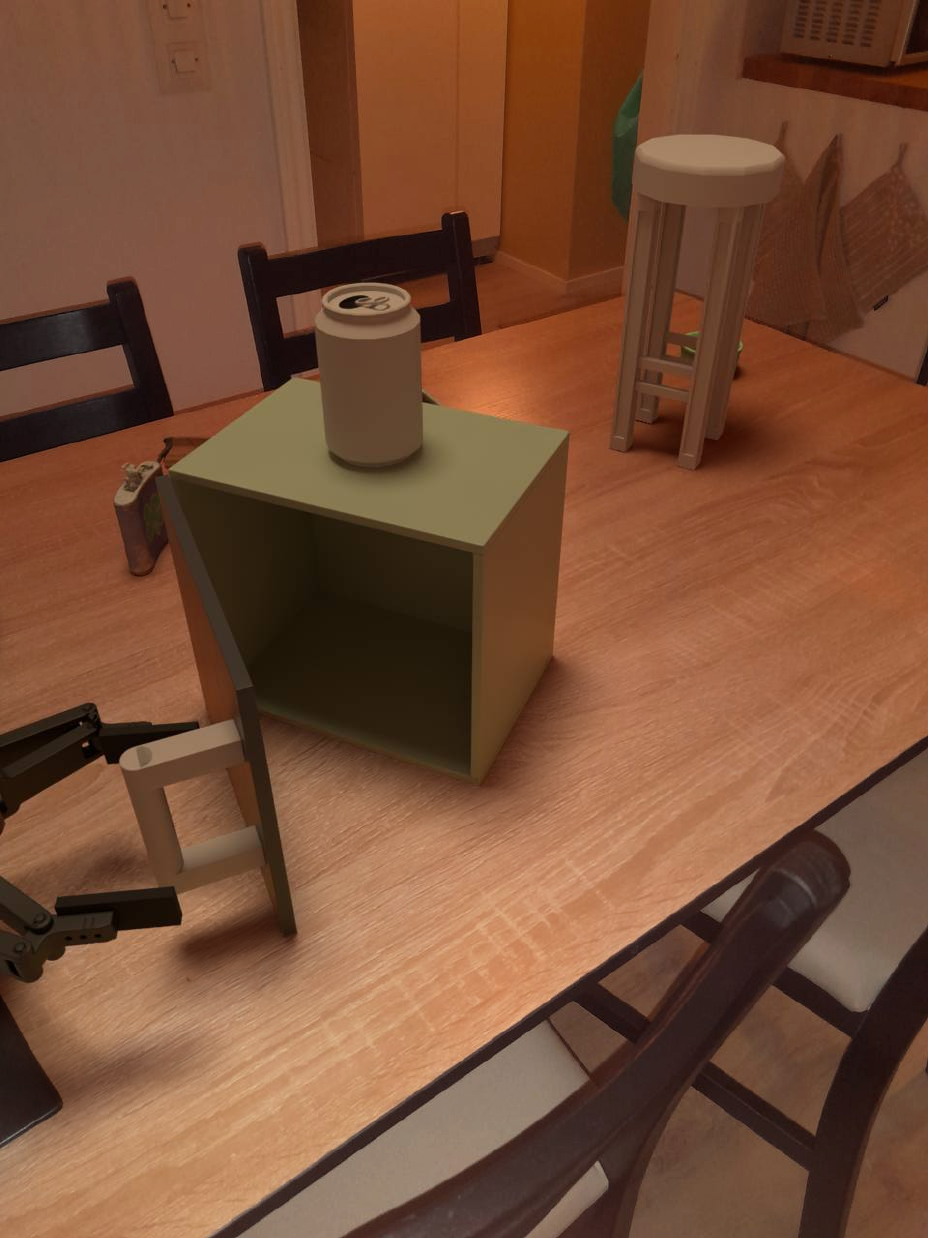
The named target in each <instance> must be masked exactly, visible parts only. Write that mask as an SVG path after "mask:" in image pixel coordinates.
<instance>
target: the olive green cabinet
mask: <svg viewBox="0 0 928 1238" xmlns="http://www.w3.org/2000/svg"><path fill="white" fill-rule="evenodd" d="M422 406H423V443H422V444H421V446H420V447H419V448H418V449H417V450H416V451H415V452H413V453H412V454H411V455H410V457H409V458H407V459H406V460H404V461H402V462H400V463H397V464H394V465H392V466H386V467H380V468H367V467H360V466H355V465H352V464H349V463H347V462H345V461H344V460H342V459H341V458H340V457H339V456H337V455H336V454H334V453H333V452H332V451H330V450H329V448H328V446H327V444H326V439H325V429H324V418H323V408H322V398H321V387H320V381H316V380H312V379H307V378H306V379H305V378H301V377H296V376H294V377H292V378H291V379H290V380H288V381H287V382H285V383H284V384H282V385H281V386H280V387H278V388H277V389H275V390H274V391H273V392H271V393H270V394H269V395H267V396H266V397H265V398H263V399H262V400H261V401H259V402H258V403H256V404H255V405H254V406H252V407H251V408H250V409H248V410H247V411H245V412H244V413H243V414H242V415H240V416H239V417H237V418H236V419H234V420H233V421H232V422H230V423H229V424H227V425H226V426H225V427H224V428H222V429H221V430H220V431H218V432H217V433H216V434H214V435H213V436H211V437H212V438H210V439H209V440H207V441H206V442H205V443H203V444H202V445H201V446H199V447H198V448H196V449H195V450H194V451H192V452H191V453H190V454H188V455H187V456H186V457H184V458H183V459H181V460H180V461H179V462H177V463H176V464H175V465H173V466H172V467H170V468H169V469H167V472H168V475H169V478H170V480H171V483H172V485H173V488H174V490H175V492H176V495H177V497H178V500H179V502H180V505H181V507H182V510H183V512H184V515H185V517H186V520H187V522H188V525H189V527H190V530H191V532H192V535H193V537H194V540H195V542H196V545H197V547H198V550H199V552H200V554H201V557H202V559H203V562H204V564H205V567H206V569H207V572H208V574H209V577H210V579H211V582H212V584H213V587H214V589H215V592H216V594H217V597H218V599H219V602H220V604H221V607H222V609H223V612H224V614H225V617H226V619H227V621H228V624H229V626H230V629H231V631H232V634H233V636H234V639H235V641H236V644H237V646H238V649H239V651H240V654H241V656H242V659H243V661H244V664H245V666H246V669H247V671H248V674H249V676H250V679H251V681H252V684H253V686H254V692H255V698H256V703H257V709H258V714H259V716H263V717H266V718H269V719H272V720H275V721H279V722H282V723H285V724H288V725H290V726H293V727H296V728H300V729H303V730H306V731H309V732H312V733H314V734H318V735H321V736H324V737H328V738H331V739H333V740H336V741H339V742H343V743H345V744H349V745H352V746H355V747H357V748H360V749H363V750H367V751H370V752H373V753H376V754H378V755H382V756H385V757H388V758H392V759H394V760H397V761H401V762H404V763H407V764H410V765H412V766H416V767H419V768H421V769H426V770H428V771H430V772H434V773H437V774H440V775H443V776H446V777H449V778H452V779H455V780H458V781H462V782H465V783H466V784H467V783H468V784H470V785H474V786H477V787H480V786H481V784H482V783H483V780H484V779H485V778H486V775H487V774H488V772H489V771H490V768H491V766H492V765H493V763H494V761H495V760H496V758H497V756H498V754H499V753H500V750H501V749H502V747H503V745H504V743H505V742H506V740H507V739H508V736H509V735H510V733H511V731H512V729H513V728H514V726H515V724H516V722H517V720H518V718H519V717H520V715H521V713H522V711H523V710H524V708H525V706H526V704H527V703H528V701H529V699H530V697H531V695H532V694H533V691H534V690H535V688H536V686H537V685H538V683H539V681H540V679H541V677H542V676H543V674H544V672H545V671H546V669H547V667H548V665H549V663H550V661H551V660H552V659H553V656H554V655H553V654H554V640H555V630H556V617H557V616H556V614H557V602H558V591H559V590H558V589H559V577H560V563H561V551H562V539H563V525H564V512H565V500H566V498H565V497H566V488H567V487H566V485H567V475H568V474H567V472H568V461H569V460H568V459H569V447H570V436H571V435H570V434H571V432H570V431H569V430H565V429H559V428H555V427H549V426H544V425H540V424H535V423H530V422H525V421H519V420H514V419H509V418H504V417H499V416H494V415H488V414H483V413H479V412H473V411H469V410H463V409H459V408H453V407H448V406H445V405H444V406H445V407H444V406H439V405H433V404H428V403H423V402H422Z"/></svg>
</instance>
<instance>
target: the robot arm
mask: <svg viewBox="0 0 928 1238" xmlns="http://www.w3.org/2000/svg"><path fill="white" fill-rule="evenodd" d="M200 728H201V727H200V723H199V721H198V720H197V721H184V722H183V721H182V722H171V723H159V724H157V723H156V724H153V723H152V722H151V721H147V720H141V721H131V722H128V721H127V722H126V721H125V722H115V723H114V722H113V723H108V722H107V723H105V722H104V721H102V719H101V716H100V713H99V709H98V707H97V704H96V703H94V702H86V703H82V704H80V705H77V706H74V707H71V708H69V709H65V710H63V711H61V712H58V713H55V714H53V715H49V716H47V717H44V718H41V719H38V720H36V721H34V722H31V723H28V724H25V725H23V726H19V727H17V728H15V729H12V730H9V731H7V732H3V733H1V734H0V836H1V835H2V834H3V832H4V829H5V827H6V821H5V820H7V819H9V818H10V817H12V816H14V815H16V814H17V813H18V811H19V810H20V808H21V806H22V804H23V803H25V802H27V801H29V800H31V799H32V798H33V797H35V796H37V795H39V794H40V793H42V792H44V791H45V790H47V789H49V788H50V787H52V786H54V785H55V784H57V783H59V782H61V781H62V780H64V779H66V778H68V777H69V776H71V775H72V774H74V773H76V772H78V771H79V770H81V769H83V768H85V767H86V766H88V765H90V764H92V763H93V762H95V761H96V760H98V759H100V758H102V757H103V756H104V759H105V761H106V762H105V763H106V764H107V765H120V764H119V760H120V757H121V756H122V754H123V753H124V752H125V751H127V750H128V749H130V748H133V747H136V746H140V745H143V744H147V743H150V742H154V741H157V740H161V739H164V738H168V737H171V736H175V735H178V734H182V733H186V732H189V731H193V730H196V729H200ZM86 743H87V745H85V746H83V745H84V744H86ZM53 908H54V911H55V914H52V912H50V911H49V910H48V909H47V908H45V907H44V906H43V905H41V904H40V903H38V902H37V901H36V900H35V899H33V898H31V897H30V896H29V895H27V894H26V893H25V892H23V891H22V890H21V889H19V888H18V887H17V886H15V885H14V884H12V883H11V882H10V881H8V880H7V879H5V878H4V877H3V876H2V875H0V921H2V922H3V923H4V924H5V925H7V926H8V927H9V928H10V929H12V930H13V931H15V932H16V933H17V934H18V935H17V934H14V933H11V932H8V931H5V930H3V929H0V974H1V975H4V976H6V977H8V978H12V979H14V980H17V981H20V982H21V983H26V984H31V983H36V982H37V981H39V980H40V978H42V977H43V974H44V967H43V966H44V965H45V963H46V962H47V961H49V962H51V961H52V962H54V961H58V960H59V959H61V958H62V957H63V956H64V955H65V954H66V951H67V948H66V947H75V946H84V945H94V944H105V943H109V942H112V941H114V940H116V939H117V937H118V933H119V932H125V931H135V930H136V931H137V930H145V929H155V928H166V927H167V928H168V927H176V926H177V927H178V926H182V923H183V922H182V921H183V911H182V907H181V905H180V902H179V897H178V895H177V894H176V891H175V887H174V886H169V887H158V886H157V887H148V888H139V889H138V888H137V889H126V890H117V891H105V892H96V893H95V892H94V893H93V892H92V893H83V894H73V895H71V894H70V895H63V896H62V895H61V896H56V899H55V903H54V906H53ZM19 935H20V936H19Z"/></svg>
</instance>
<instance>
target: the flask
mask: <svg viewBox="0 0 928 1238" xmlns="http://www.w3.org/2000/svg"><path fill="white" fill-rule="evenodd" d="M124 469H125V472H126V475H125V476H124V479H123V481H122V482H121V484H120V486H119V488H117V491H116V494H115V495H114V498H113V502H112V503H113V507H114V511H115V515H116V519H117V522H118V526H119V530H120V535H121V538H122V542H123V545H124V551H125V557H126V560H127V564H128V568H129V571H130V573H131V574H132V575H133V576H139V577H140V576H146V575H148V574H149V573H150V572H152V571H153V569H154V568H155V566H156V563H157V561H158V560H159V557H160V555H161V554H162V552H163V550H164V549H165V547H166V546H167V545H168V543H169V539H168V535H167V530H166V526H165V521H164V517H163V512H162V508H161V503H160V499H159V494H158V490H157V485H156V481H155V477H158V476H163V475H164V472H163V468H162V464H161V462H160V463H158V462H157V460H156V461H155V460H147V461H144V462H142V463H140V464H139V465H138V466H136V465H135V464H134V463H131V464H129V463H128V462H126V463H124V464H123V465H121V466H120V472H121V473H123V470H124Z"/></svg>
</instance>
